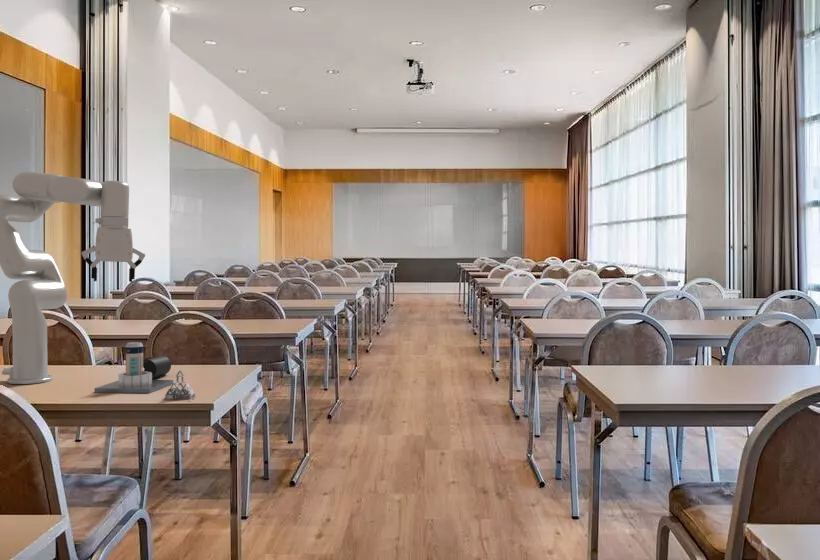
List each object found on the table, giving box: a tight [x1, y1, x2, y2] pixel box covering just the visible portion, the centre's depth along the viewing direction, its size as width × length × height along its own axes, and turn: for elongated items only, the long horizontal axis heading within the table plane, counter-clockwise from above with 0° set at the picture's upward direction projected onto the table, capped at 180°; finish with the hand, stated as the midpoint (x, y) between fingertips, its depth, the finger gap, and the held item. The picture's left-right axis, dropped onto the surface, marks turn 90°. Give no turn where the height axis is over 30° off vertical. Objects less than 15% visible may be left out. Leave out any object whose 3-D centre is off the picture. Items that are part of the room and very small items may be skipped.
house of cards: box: [164, 369, 196, 401], centre depth 187 cm, size 9×9×8 cm
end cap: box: [143, 355, 172, 380], centre depth 222 cm, size 10×7×7 cm
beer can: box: [125, 341, 144, 375], centre depth 204 cm, size 5×5×12 cm
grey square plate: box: [93, 370, 174, 394], centre depth 204 cm, size 16×16×4 cm
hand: (113, 281), depth 207 cm, fingers open, 9 cm apart
